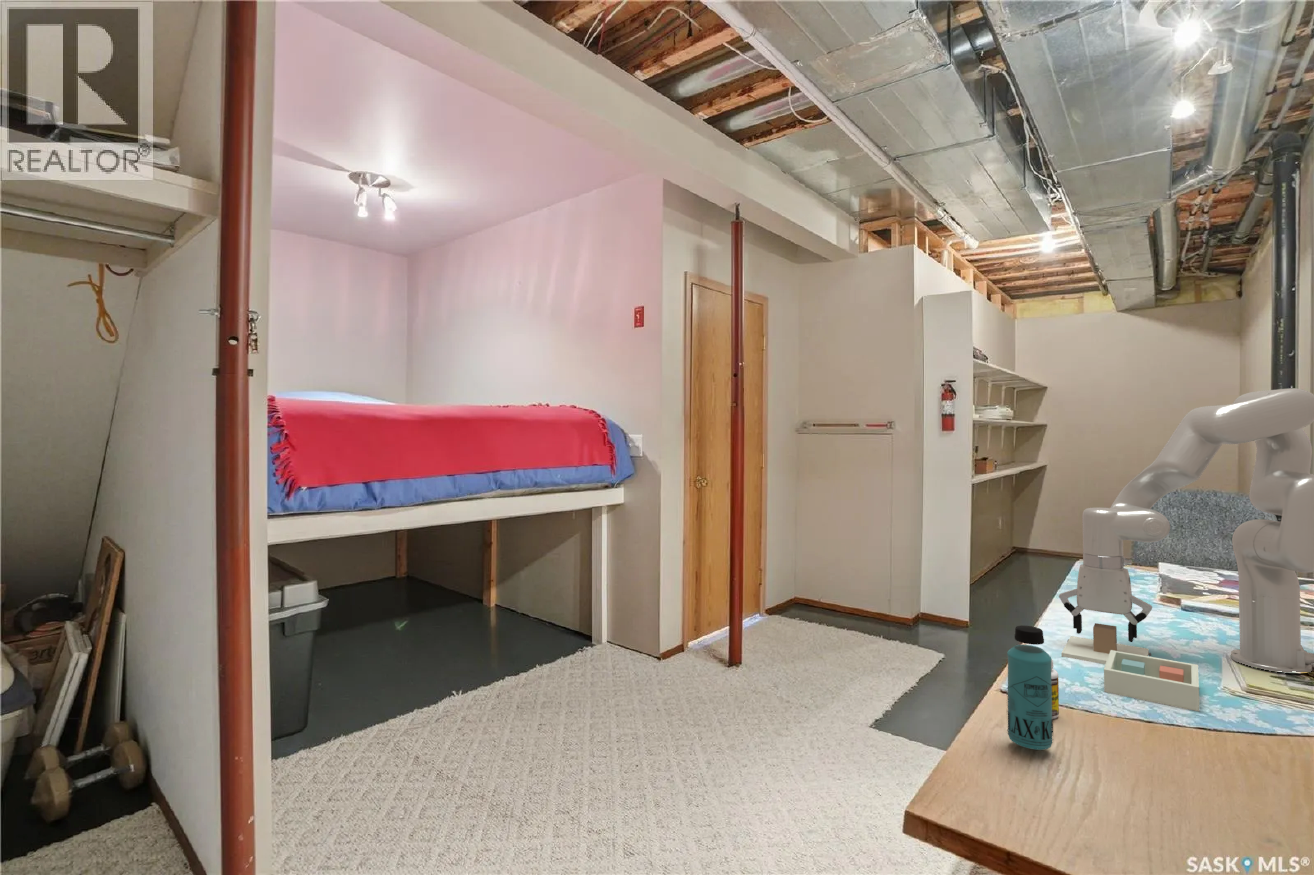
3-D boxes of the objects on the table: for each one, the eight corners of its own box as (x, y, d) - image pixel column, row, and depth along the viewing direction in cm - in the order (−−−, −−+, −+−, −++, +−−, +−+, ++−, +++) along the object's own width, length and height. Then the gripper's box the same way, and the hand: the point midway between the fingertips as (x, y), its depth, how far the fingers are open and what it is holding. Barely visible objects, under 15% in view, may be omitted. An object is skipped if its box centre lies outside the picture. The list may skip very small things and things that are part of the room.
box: (1198, 690, 122) (1198, 664, 122) (1199, 714, 111) (1198, 687, 111) (1111, 673, 131) (1110, 649, 131) (1104, 694, 120) (1103, 669, 120)
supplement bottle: (1050, 723, 109) (1049, 666, 109) (1017, 712, 113) (1016, 657, 113) (1065, 715, 112) (1063, 659, 112) (1032, 704, 116) (1031, 651, 117)
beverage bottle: (998, 741, 103) (996, 622, 103) (1035, 738, 103) (1033, 620, 103) (1025, 761, 96) (1022, 634, 96) (1064, 759, 97) (1062, 632, 97)
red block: (1183, 687, 121) (1183, 669, 121) (1183, 693, 119) (1183, 675, 119) (1160, 683, 124) (1159, 665, 124) (1159, 688, 121) (1159, 670, 121)
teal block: (1145, 680, 125) (1144, 662, 125) (1144, 685, 123) (1143, 668, 123) (1123, 676, 128) (1122, 658, 128) (1121, 681, 125) (1121, 663, 125)
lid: (1148, 653, 141) (1148, 625, 141) (1145, 672, 130) (1144, 642, 130) (1070, 640, 151) (1070, 613, 151) (1061, 657, 140) (1060, 628, 140)
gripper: (1152, 563, 138) (1153, 639, 138) (1060, 555, 149) (1062, 625, 149) (1150, 569, 132) (1152, 648, 132) (1055, 560, 143) (1057, 633, 143)
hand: (1104, 636), depth 140 cm, fingers open, 9 cm apart
